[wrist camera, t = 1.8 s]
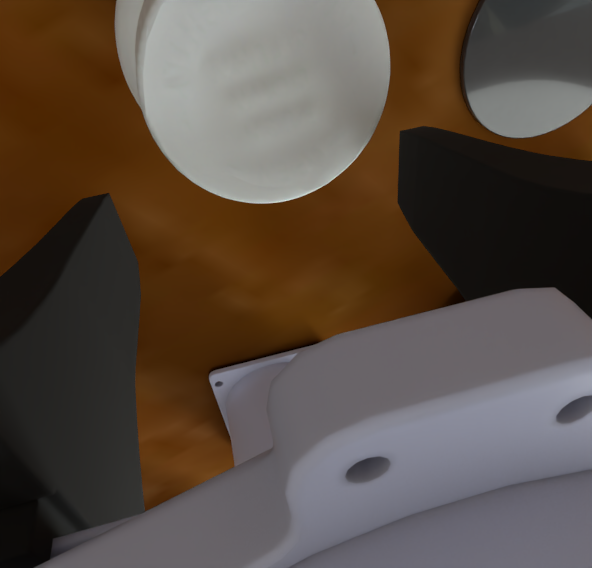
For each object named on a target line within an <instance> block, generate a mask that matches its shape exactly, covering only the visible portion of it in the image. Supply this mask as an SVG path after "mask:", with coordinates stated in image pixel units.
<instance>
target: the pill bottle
mask: <svg viewBox="0 0 592 568" xmlns="http://www.w3.org/2000/svg"><path fill="white" fill-rule="evenodd" d="M115 36H116V45H117V51H118V56H119V60H120V64H121V67H122V71H123V74H124V76H125V79H126V82H127V84H128V86H129V88H130V91H131V92H132V94H133V96H134V98H135V100H136V101H137V103H138V105H139V106H140V108H141V109H142V113H143V116H144V118H145V121H146V124H147V126H148V128H149V130H150V132H151V135H152V137H153V138H154V140H155V142H156V143H157V145H158V146H159V148H160V149H161V151H162V153H163V154H164V155H165V156H166V157H167V159H168V160H169V161H170V162H171V163H172V164H173V165H174V166H175V167H176V168H177V170H178V171H180V172H181V173H182V174H183V175H184V176H186V177H187V178H188V179H189V180H191V181H192V182H193V183H195V184H197V185H198V186H200V187H202V188H203V189H205V190H207V191H209V192H211V193H214V194H216V195H219V196H221V197H224V198H227V199H231V200H235V201H241V202H247V203H276V202H283V201H288V200H292V199H295V198H298V197H301V196H304V195H306V194H309V193H311V192H313V191H315V190H317V189H319V188H321V187H323V186H324V185H326V184H328V183H329V182H330V181H332V180H333V179H334V178H336V177H337V176H338V175H339V174H341V173H342V172H343V171H344V170H345V169H346V168H347V167H348V166H349V165H350V164H351V163H352V162H353V161H354V160H355V159H356V158H357V157H358V156H359V154H360V153H361V152H362V150H363V149H364V147H365V146H366V145H367V143H368V142H369V140H370V138H371V136H372V135H373V133H374V131H375V129H376V126H377V124H378V122H379V120H380V117H381V114H382V111H383V108H384V105H385V102H386V98H387V93H388V87H389V79H390V51H389V43H388V37H387V32H386V28H385V24H384V21H383V18H382V16H381V13H380V11H379V8H378V6H377V4H376V2H375V0H117V1H116V9H115Z"/></svg>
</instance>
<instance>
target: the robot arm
mask: <svg viewBox="0 0 592 568" xmlns="http://www.w3.org/2000/svg"><path fill="white" fill-rule="evenodd" d="M398 204H399V206H400V208H401V210H402V212H403V214H404V216H405V218H406V220H407V221H408V223H409V225H410V227H411V229H412V230H413V232H414V233H415V234H416V236H417V237H418V238H419V240H420V241H421V242H422V244H423V245H424V246H425V248H426V249H427V250H428V252H429V253H430V254H431V255H432V257H433V258H434V259H435V261H436V262H437V263H438V264H439V266H440V267H441V268H442V270H443V271H444V272H445V273H446V275H447V276H448V277H449V279H450V280H451V281H452V282H453V284H454V285H455V286H456V288H457V289H458V290H459V292H460V293H461V295H462V296H463V298H464V299H465V301H466V302H462V303H458V304H455V305H451V306H447V307H443V308H439V309H435V310H431V311H427V312H423V313H419V314H415V315H412V316H408V317H404V318H400V319H396V320H392V321H388V322H384V323H380V324H376V325H373V326H369V327H365V328H361V329H357V330H353V331H349V332H345V333H341V334H337V335H335V336H333V337H331V338H328V339H326V340H324V341H322V342H320V343H317V344H315V345H311V346H307V347H303V348H299V349H295V350H291V351H288V352H284V353H280V354H276V355H272V356H268V357H264V358H260V359H256V360H252V361H249V362H245V363H241V364H237V365H233V366H229V367H225V368H221V369H217V370H214V371H212V372H211V373H210V374H209V381H210V384H211V386H212V389H213V392H214V394H215V397H216V400H217V403H218V405H219V408H220V411H221V413H222V416H223V419H224V421H225V424H226V427H227V429H228V432H229V435H230V438H231V443H232V450H233V457H234V464H235V467H233V468H231V469H229V470H227V471H225V472H223V473H221V474H219V475H217V476H215V477H213V478H211V479H209V480H207V481H205V482H203V483H201V484H199V485H197V486H195V487H193V488H191V489H189V490H187V491H185V492H183V493H181V494H179V495H177V496H175V497H173V498H171V499H169V500H168V501H166V502H164V503H162V504H160V505H158V506H156V507H154V508H152V509H150V510H148V511H146V512H145V508H144V499H143V489H142V478H141V468H140V457H139V443H138V429H137V413H136V393H135V367H136V354H137V341H138V328H139V314H140V299H141V292H140V278H139V268H138V261H137V259H136V256H135V254H134V252H133V249H132V247H131V244H130V242H129V240H128V237H127V235H126V233H125V230H124V228H123V225H122V223H121V221H120V218H119V216H118V214H117V211H116V209H115V206H114V204H113V202H112V199H111V197H110V195H109V193H107V194H102V195H98V196H93V197H88V198H84V199H82V200H80V201H79V202H78V203H77V204H75V205H74V206H73V207H72V208H71V209H70V210H69V211H68V212H67V213H66V214H65V215H64V216H63V217H62V219H61V220H60V221H59V222H58V223H57V224H56V225H55V226H54V227H53V228H52V229H51V230H50V231H49V232H48V233H47V234H46V235H45V236H44V237H43V238H42V239H41V240H40V241H39V242H38V243H37V244H36V245H35V246H34V247H33V248H32V249H31V250H30V251H29V252H27V253H26V254H25V255H24V256H23V257H22V258H21V259H20V260H19V261H18V262H17V263H16V264H15V265H13V266H12V267H11V268H10V269H9V270H8V271H7V272H5V273H4V274H3V275H2V276H1V277H0V568H592V161H585V160H576V159H570V158H563V157H556V156H549V155H544V154H538V153H533V152H529V151H524V150H520V149H515V148H511V147H507V146H503V145H499V144H495V143H491V142H487V141H484V140H480V139H476V138H473V137H469V136H466V135H462V134H458V133H455V132H451V131H447V130H443V129H438V128H433V127H426V126H422V127H417V128H413V129H408V130H403V131H400V144H399V176H398ZM219 381H220V382H219Z"/></svg>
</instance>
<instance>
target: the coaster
mask: <svg viewBox="0 0 592 568" xmlns="http://www.w3.org/2000/svg"><path fill="white" fill-rule="evenodd" d="M460 79H461V88H462V92H463V97H464V99H465V102H466V105H467V107H468V109H469V110H470V112H471V114H472V115H473V117H474V118H475V119H476V120H477V121H478V122H479V123H480V124H481V125H482V126H484V127H485V128H486V129H488V130H489V131H491V132H493V133H495V134H497V135H500V136H503V137H508V138H529V137H535V136H539V135H542V134H546V133H548V132H550V131H553V130H555V129H557V128H559V127H561V126H563V125H565V124H567V123H568V122H570V121H571V120H573V119H574V118H576V117H577V116H578V115H580V114H581V113H582V112H584V111H585V110H586V109H587V108H588V107H590V106H591V105H592V0H480V1H479V3H478V5H477V7H476V9H475V11H474V13H473V16H472V18H471V21H470V24H469V26H468V29H467V32H466V36H465V39H464V43H463V48H462V54H461V62H460Z"/></svg>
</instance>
